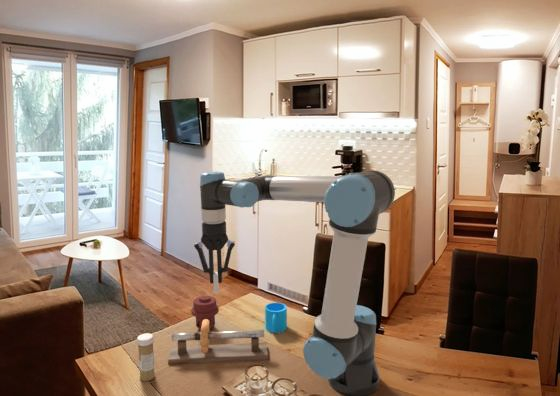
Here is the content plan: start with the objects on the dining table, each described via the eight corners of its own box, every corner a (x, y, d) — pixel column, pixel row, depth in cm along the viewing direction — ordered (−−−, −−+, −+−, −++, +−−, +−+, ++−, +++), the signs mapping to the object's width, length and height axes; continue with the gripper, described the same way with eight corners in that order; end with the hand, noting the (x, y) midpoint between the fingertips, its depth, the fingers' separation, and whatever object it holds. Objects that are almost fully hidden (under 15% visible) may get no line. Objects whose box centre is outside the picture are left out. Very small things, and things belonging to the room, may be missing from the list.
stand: (267, 359, 142) (267, 342, 141) (168, 363, 139) (167, 347, 138) (266, 346, 150) (266, 331, 149) (172, 350, 147) (171, 334, 146)
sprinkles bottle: (141, 373, 134) (138, 333, 131) (156, 372, 134) (154, 332, 132) (138, 382, 129) (135, 340, 127) (153, 381, 130) (151, 339, 127)
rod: (263, 335, 146) (263, 328, 145) (264, 338, 143) (264, 331, 143) (173, 338, 143) (172, 331, 143) (171, 342, 141) (171, 335, 140)
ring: (208, 353, 140) (207, 330, 138) (200, 353, 139) (199, 330, 138) (210, 340, 147) (209, 319, 146) (202, 341, 147) (202, 319, 146)
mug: (266, 321, 168) (266, 302, 166) (287, 322, 167) (287, 303, 166) (262, 337, 156) (262, 316, 155) (284, 338, 155) (284, 317, 154)
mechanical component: (196, 321, 168) (221, 323, 167) (188, 334, 158) (215, 335, 157) (195, 291, 166) (221, 292, 165) (187, 302, 156) (214, 303, 155)
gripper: (235, 218, 140) (236, 287, 144) (194, 219, 139) (197, 288, 143) (234, 223, 133) (236, 296, 137) (191, 224, 132) (194, 297, 136)
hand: (216, 292), depth 140 cm, fingers closed
